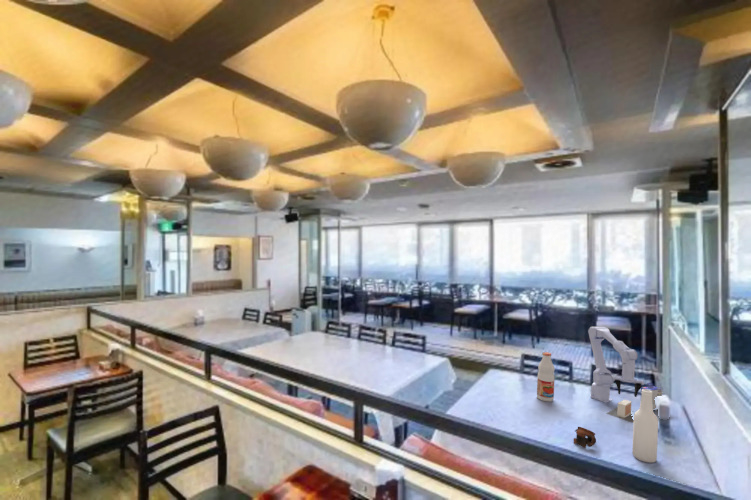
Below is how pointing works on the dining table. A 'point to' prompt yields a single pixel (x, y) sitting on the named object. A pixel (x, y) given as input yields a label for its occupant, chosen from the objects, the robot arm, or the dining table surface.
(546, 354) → the fruit juice
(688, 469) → the dining table surface
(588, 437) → the pottery mug
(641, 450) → the alcohol
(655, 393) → the ink cartridge box
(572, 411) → the dining table surface
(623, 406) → the sign slab
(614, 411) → the mat
